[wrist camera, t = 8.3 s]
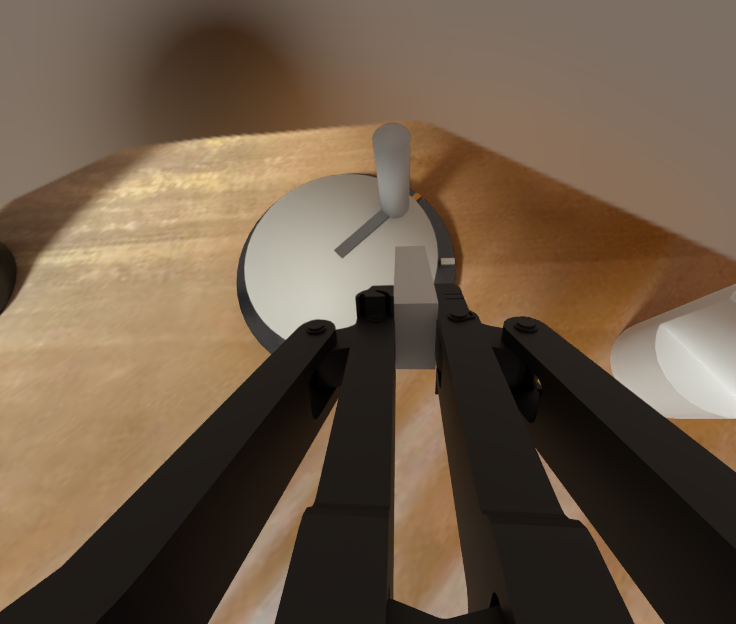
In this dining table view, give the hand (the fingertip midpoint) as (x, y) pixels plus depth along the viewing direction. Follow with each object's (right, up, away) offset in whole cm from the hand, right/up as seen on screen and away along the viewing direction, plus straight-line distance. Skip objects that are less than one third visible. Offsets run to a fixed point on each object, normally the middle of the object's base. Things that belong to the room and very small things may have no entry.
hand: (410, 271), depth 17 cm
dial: (-5, +3, +18) cm, 19 cm away
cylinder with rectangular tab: (+25, -7, +14) cm, 30 cm away
